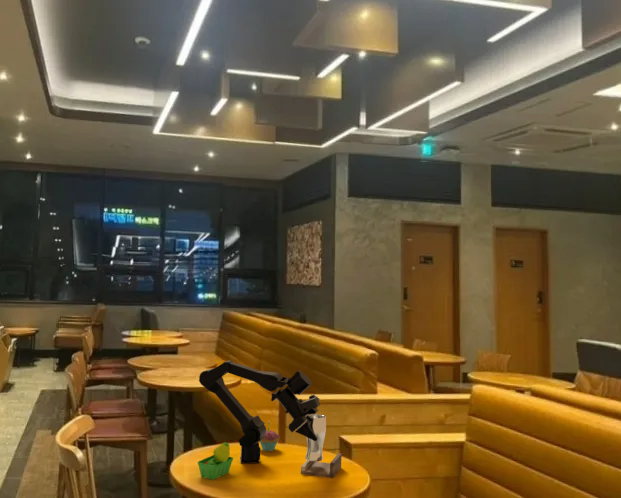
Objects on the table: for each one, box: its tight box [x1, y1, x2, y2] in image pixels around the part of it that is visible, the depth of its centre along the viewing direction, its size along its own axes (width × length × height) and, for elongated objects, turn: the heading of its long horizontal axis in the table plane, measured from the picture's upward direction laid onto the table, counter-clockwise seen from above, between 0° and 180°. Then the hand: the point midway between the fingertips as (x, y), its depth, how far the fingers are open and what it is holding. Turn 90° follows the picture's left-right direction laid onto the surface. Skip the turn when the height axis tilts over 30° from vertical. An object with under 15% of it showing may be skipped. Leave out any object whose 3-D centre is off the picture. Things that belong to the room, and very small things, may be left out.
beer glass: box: [305, 413, 327, 462], centre depth 222 cm, size 7×7×15 cm
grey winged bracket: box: [300, 452, 343, 479], centre depth 221 cm, size 11×12×5 cm
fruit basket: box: [196, 441, 234, 480], centre depth 212 cm, size 11×9×11 cm
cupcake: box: [259, 420, 280, 452], centre depth 244 cm, size 9×8×12 cm
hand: (319, 437), depth 222 cm, fingers closed on beer glass, 6 cm apart
